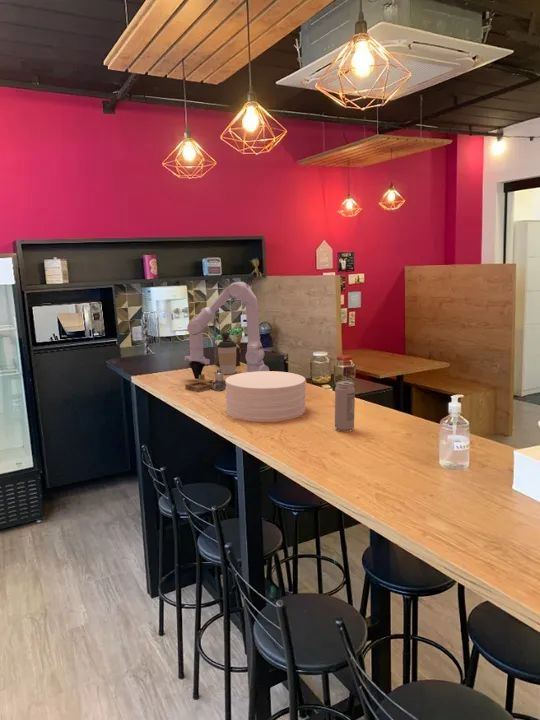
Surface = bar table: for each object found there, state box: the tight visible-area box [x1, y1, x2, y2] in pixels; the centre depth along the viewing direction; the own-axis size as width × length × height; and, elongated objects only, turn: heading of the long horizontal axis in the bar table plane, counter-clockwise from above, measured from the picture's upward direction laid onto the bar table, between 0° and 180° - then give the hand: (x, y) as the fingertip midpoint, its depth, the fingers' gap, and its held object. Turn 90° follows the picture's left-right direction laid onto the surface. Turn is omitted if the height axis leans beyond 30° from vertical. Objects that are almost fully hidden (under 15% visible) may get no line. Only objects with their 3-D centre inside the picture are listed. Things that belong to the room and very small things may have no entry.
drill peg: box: [214, 368, 224, 387], centre depth 233 cm, size 3×3×8 cm
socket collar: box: [210, 380, 227, 392], centre depth 234 cm, size 12×12×1 cm
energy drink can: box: [334, 380, 356, 432], centre depth 173 cm, size 6×6×15 cm
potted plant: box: [213, 331, 241, 368], centre depth 277 cm, size 16×11×18 cm
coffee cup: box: [217, 340, 238, 375], centre depth 260 cm, size 9×9×15 cm
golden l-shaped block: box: [198, 373, 214, 385], centre depth 239 cm, size 6×2×4 cm, turn 47°
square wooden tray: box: [184, 380, 214, 393], centre depth 229 cm, size 8×8×2 cm
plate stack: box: [224, 370, 306, 423], centre depth 196 cm, size 28×28×12 cm
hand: (197, 378), depth 243 cm, fingers closed
